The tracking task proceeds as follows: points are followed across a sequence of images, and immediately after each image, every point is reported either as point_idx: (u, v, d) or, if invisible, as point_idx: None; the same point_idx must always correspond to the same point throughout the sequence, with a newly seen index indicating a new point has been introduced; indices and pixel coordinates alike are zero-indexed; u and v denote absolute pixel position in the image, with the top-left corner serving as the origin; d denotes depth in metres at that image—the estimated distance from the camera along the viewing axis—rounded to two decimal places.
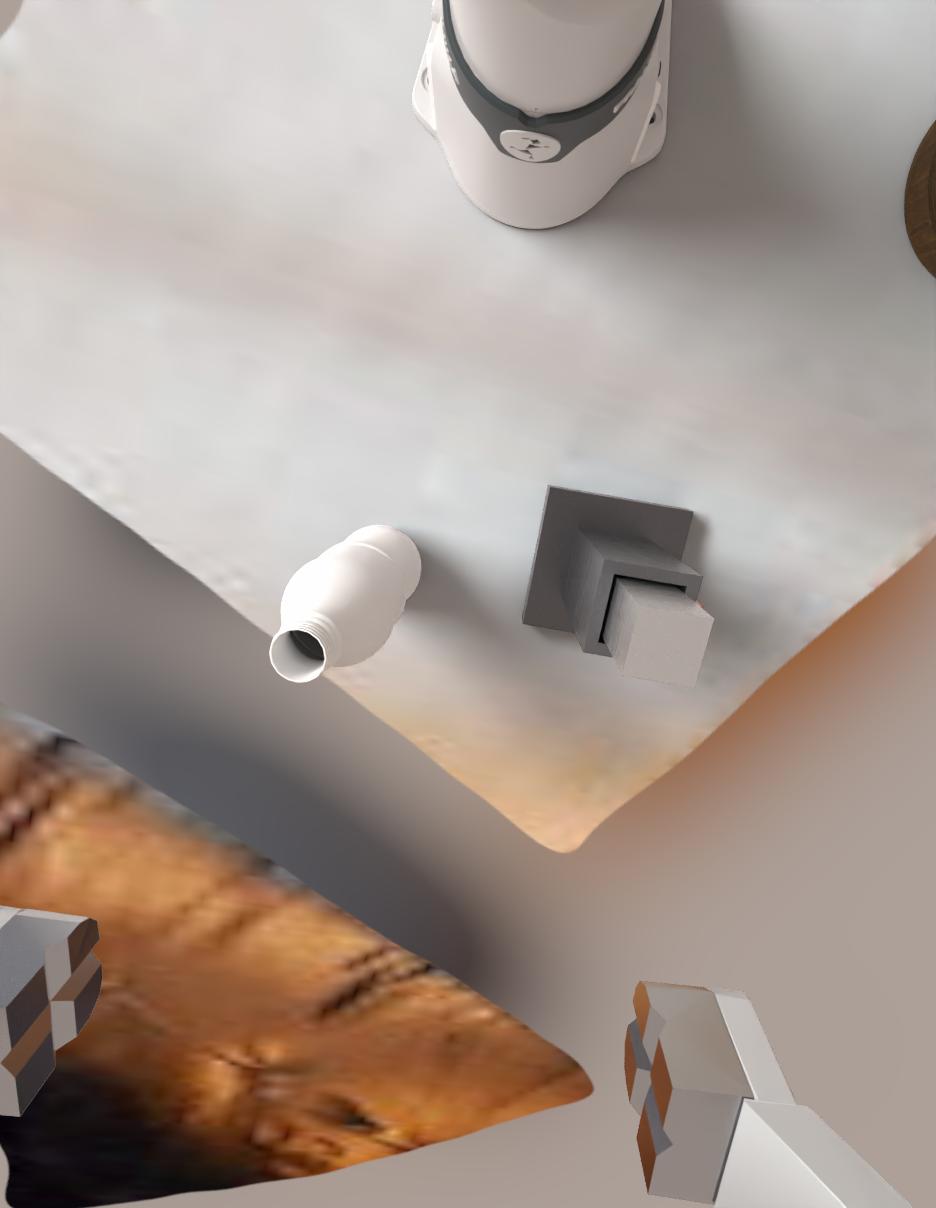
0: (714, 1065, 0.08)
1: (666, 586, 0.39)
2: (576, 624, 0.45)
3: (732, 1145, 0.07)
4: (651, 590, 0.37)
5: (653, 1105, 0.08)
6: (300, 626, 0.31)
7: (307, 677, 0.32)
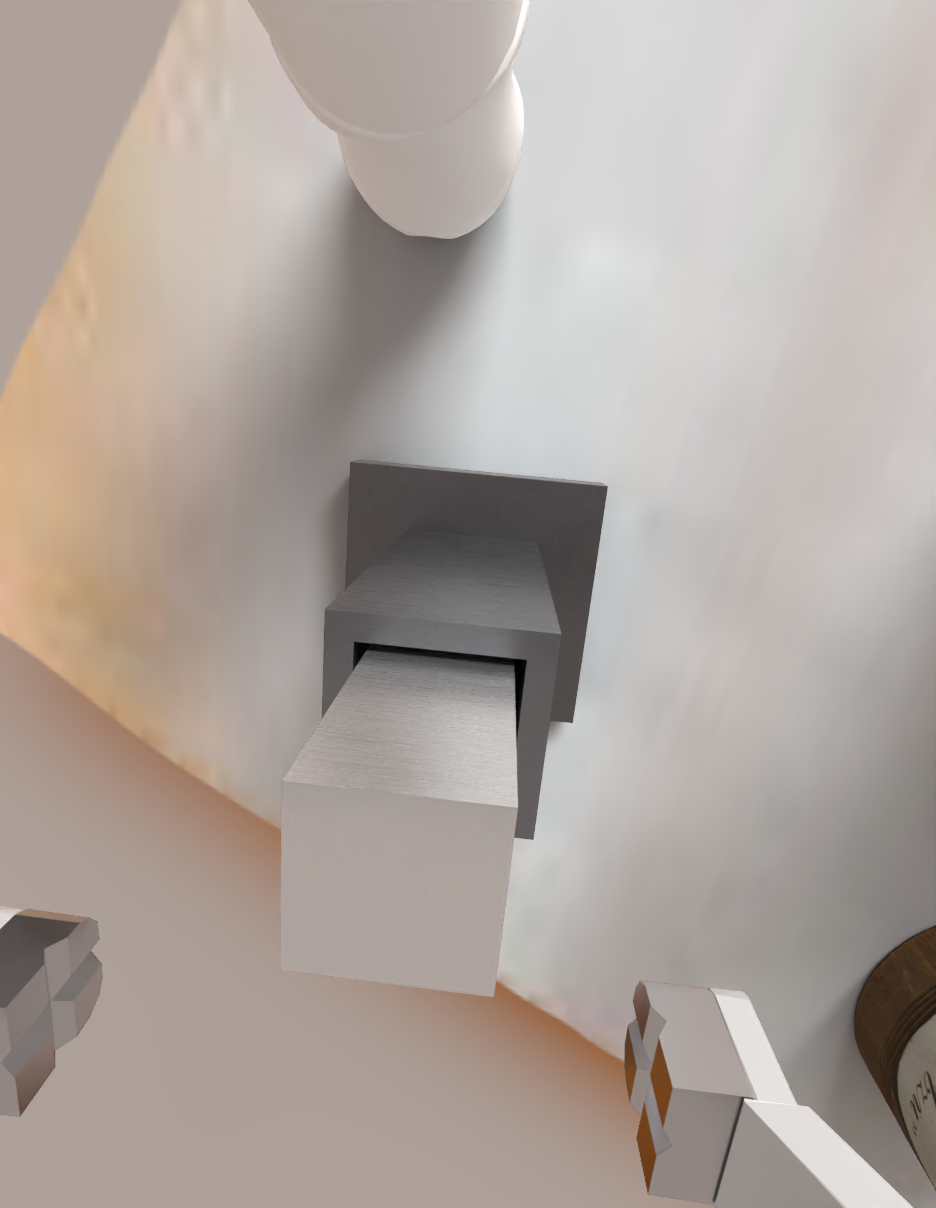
0: (714, 1065, 0.08)
1: None
2: (378, 573, 0.21)
3: (731, 1145, 0.07)
4: None
5: (653, 1105, 0.08)
6: None
7: None
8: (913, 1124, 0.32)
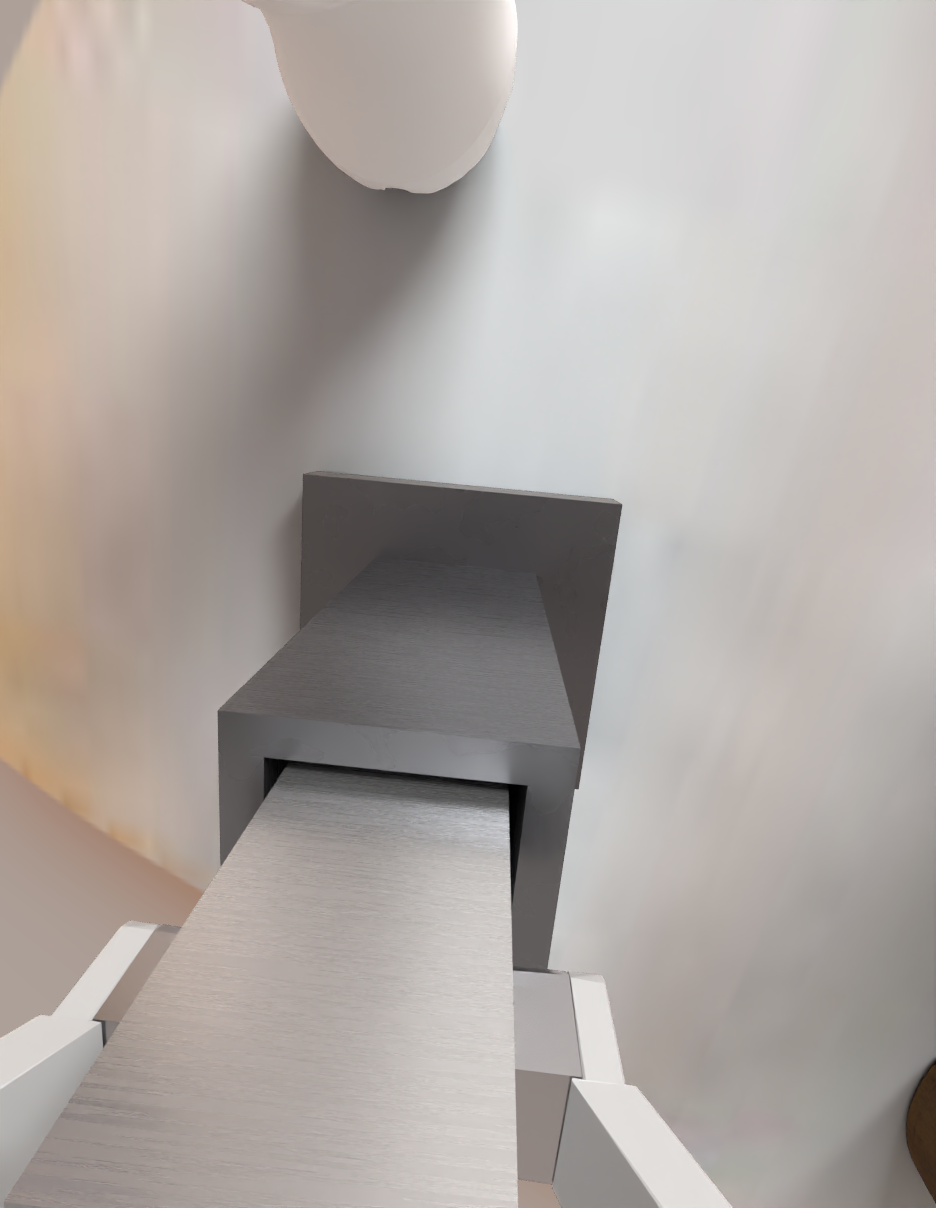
0: (551, 1045, 0.08)
1: None
2: (320, 633, 0.15)
3: (563, 1124, 0.07)
4: None
5: None
6: None
7: None
8: None
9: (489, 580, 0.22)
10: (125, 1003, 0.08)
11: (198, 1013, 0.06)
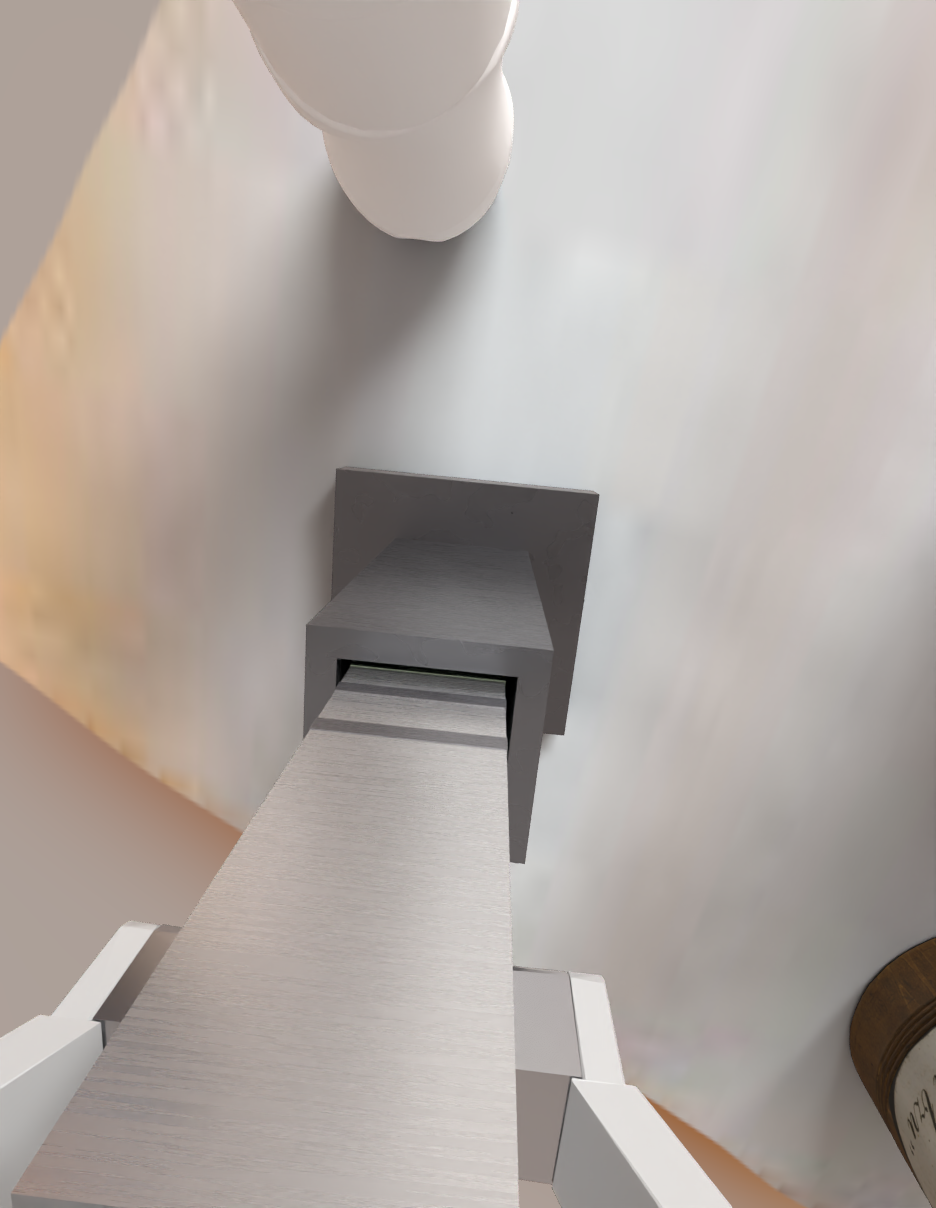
0: (550, 1045, 0.08)
1: None
2: (363, 585, 0.20)
3: (563, 1124, 0.07)
4: None
5: None
6: None
7: None
8: (910, 1142, 0.32)
9: (490, 555, 0.27)
10: (126, 1003, 0.08)
11: (201, 1008, 0.07)
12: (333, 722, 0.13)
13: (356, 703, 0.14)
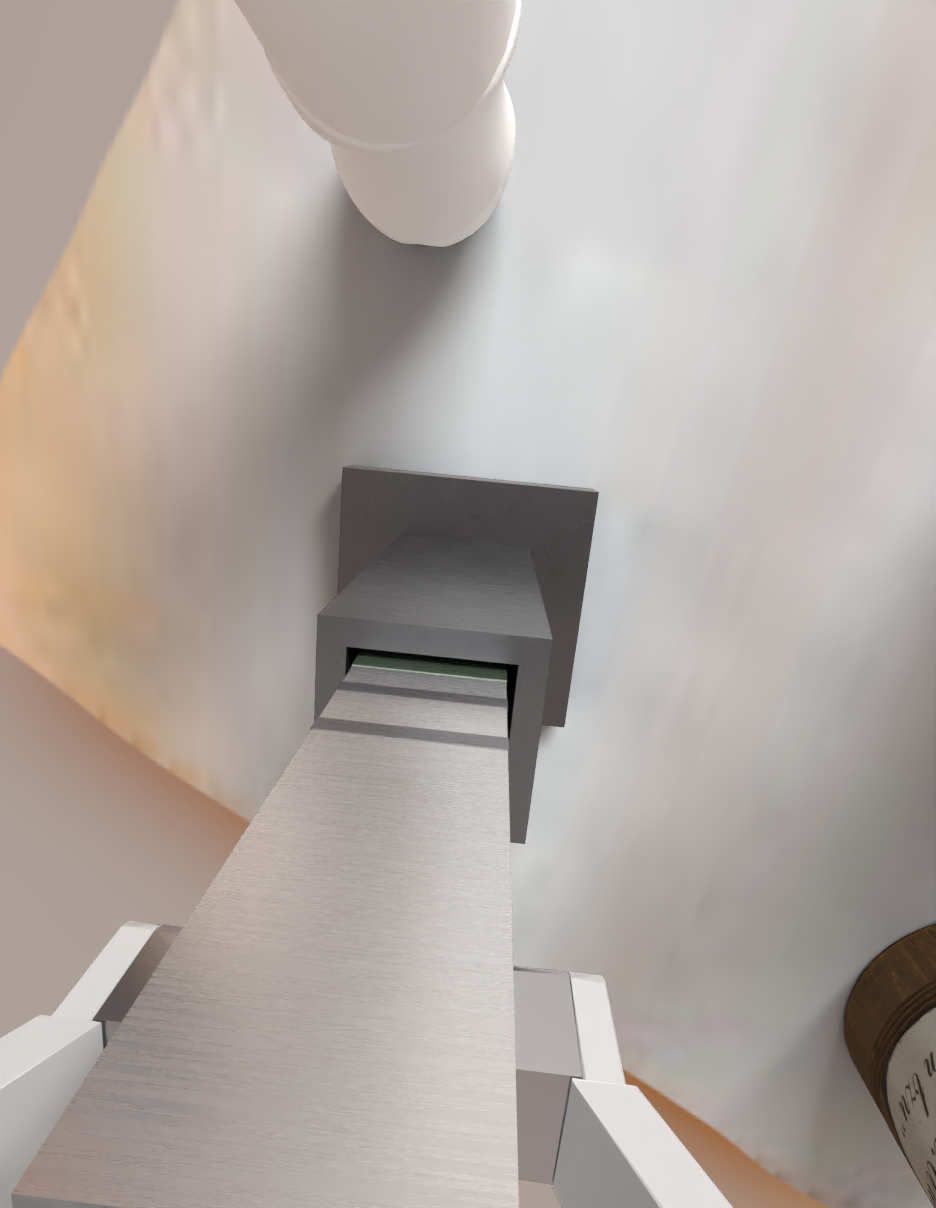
0: (551, 1046, 0.08)
1: None
2: (370, 579, 0.21)
3: (563, 1125, 0.07)
4: None
5: None
6: None
7: None
8: (902, 1125, 0.32)
9: (492, 551, 0.28)
10: (126, 1003, 0.08)
11: (202, 1009, 0.07)
12: (334, 721, 0.13)
13: (357, 703, 0.14)
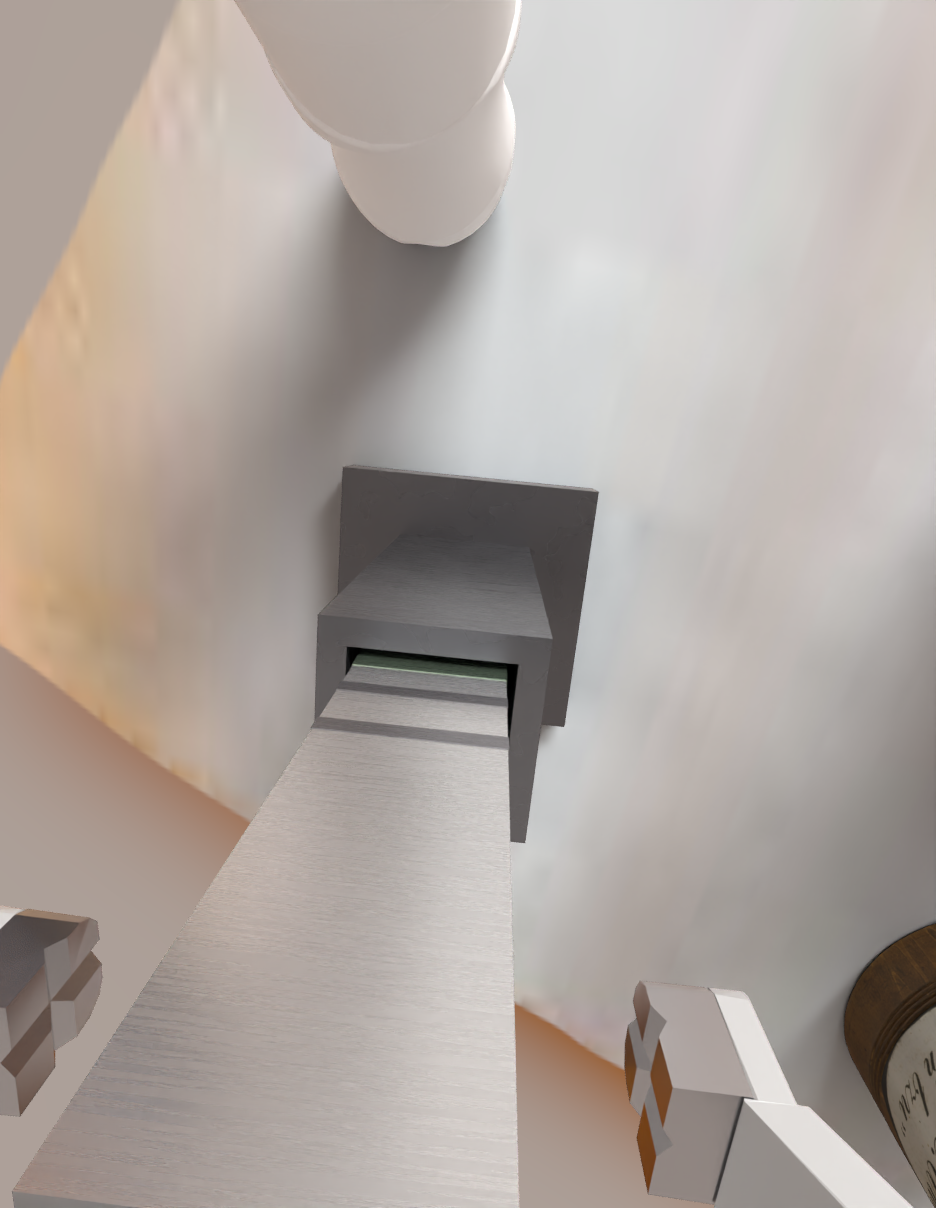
0: (714, 1065, 0.08)
1: None
2: (371, 579, 0.21)
3: (731, 1145, 0.07)
4: None
5: (653, 1105, 0.08)
6: None
7: None
8: (902, 1124, 0.32)
9: (492, 551, 0.28)
10: None
11: (202, 1007, 0.07)
12: (334, 721, 0.13)
13: (358, 702, 0.14)
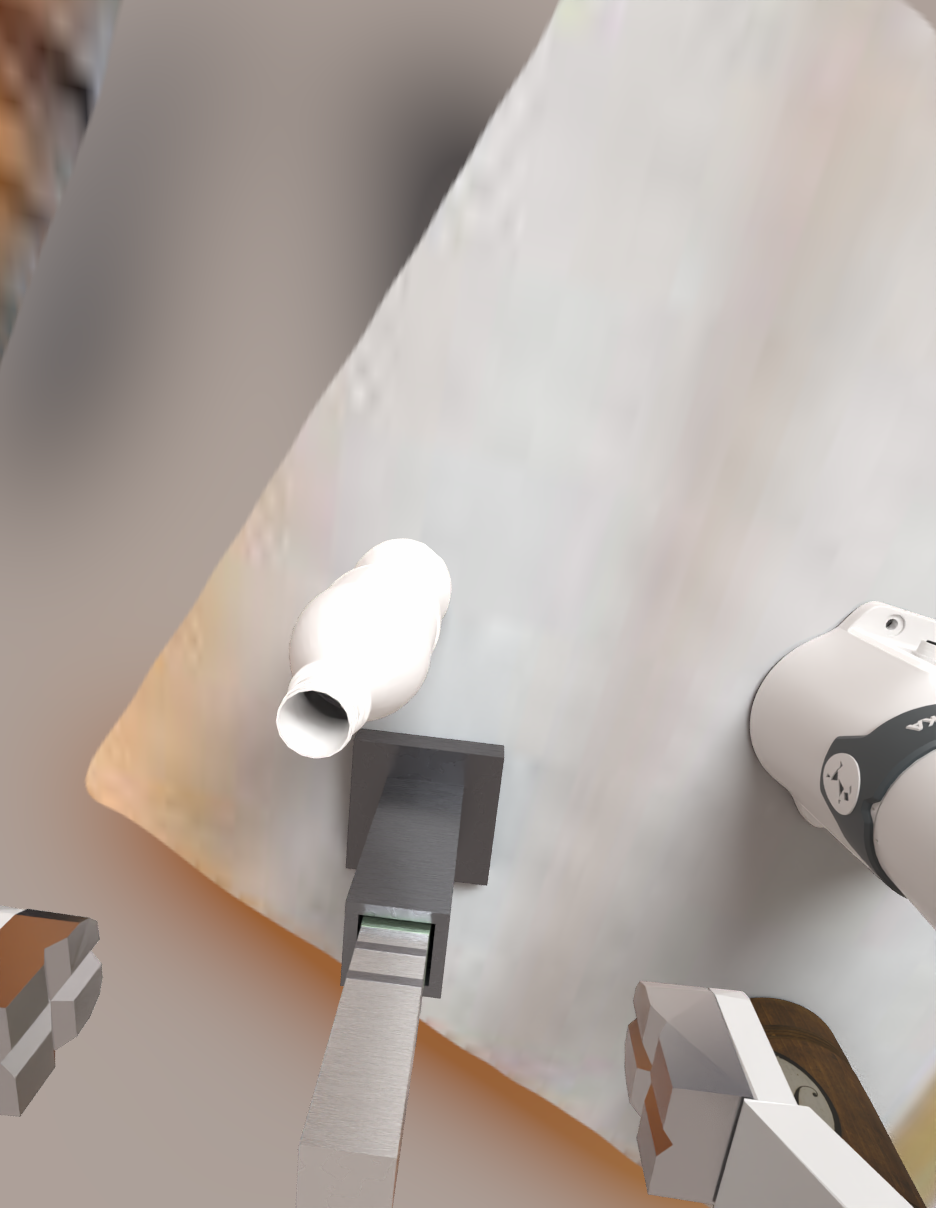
0: (714, 1065, 0.08)
1: None
2: (369, 853, 0.41)
3: (731, 1145, 0.07)
4: (409, 1077, 0.30)
5: (653, 1105, 0.08)
6: (353, 724, 0.24)
7: (284, 726, 0.24)
8: None
9: (439, 797, 0.48)
10: None
11: (327, 1103, 0.27)
12: (354, 972, 0.33)
13: (363, 957, 0.34)
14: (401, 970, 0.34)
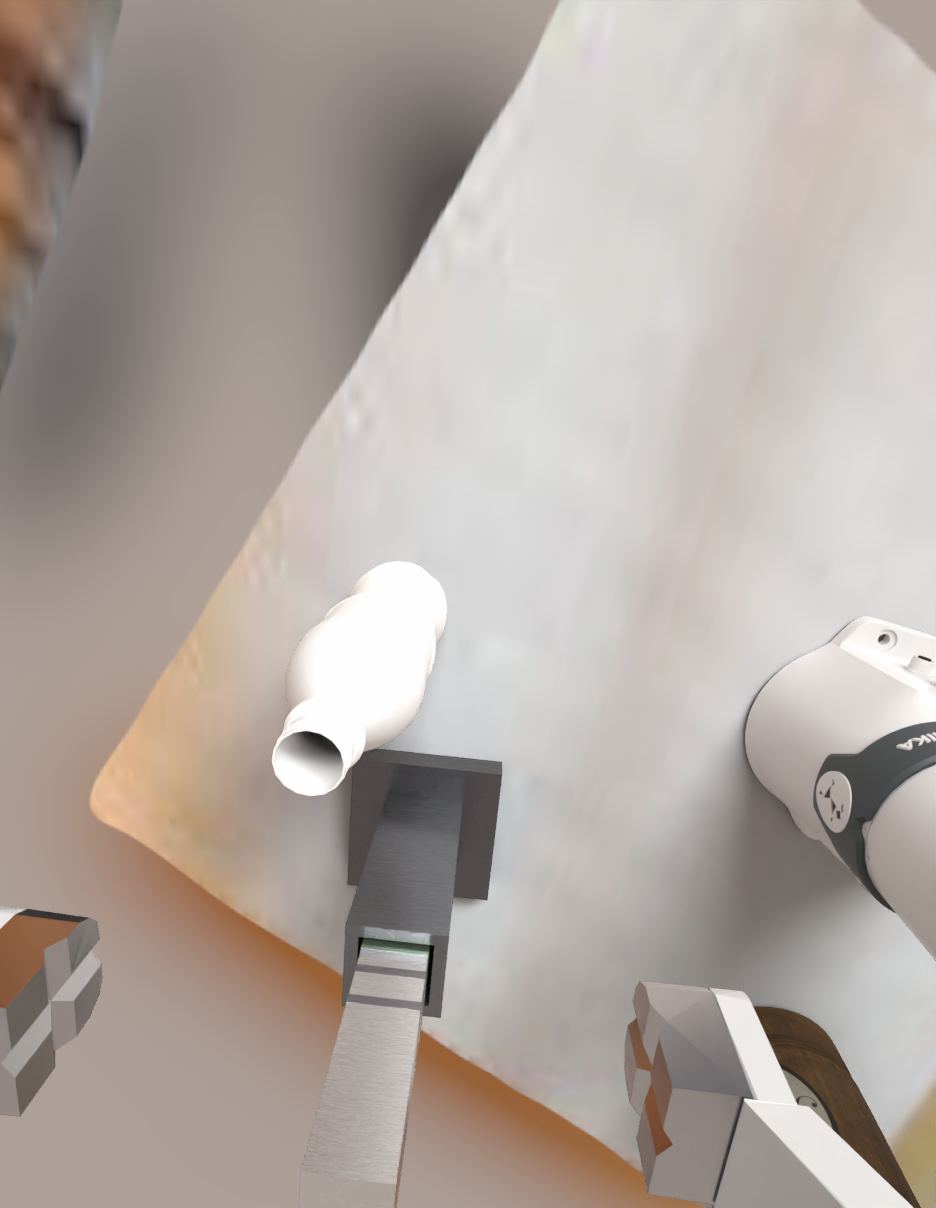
0: (714, 1065, 0.08)
1: None
2: (369, 874, 0.42)
3: (732, 1144, 0.07)
4: (409, 1100, 0.31)
5: (653, 1105, 0.08)
6: (347, 762, 0.25)
7: (280, 765, 0.25)
8: None
9: (438, 815, 0.49)
10: None
11: (328, 1130, 0.27)
12: (354, 996, 0.34)
13: (363, 981, 0.35)
14: (400, 993, 0.34)
